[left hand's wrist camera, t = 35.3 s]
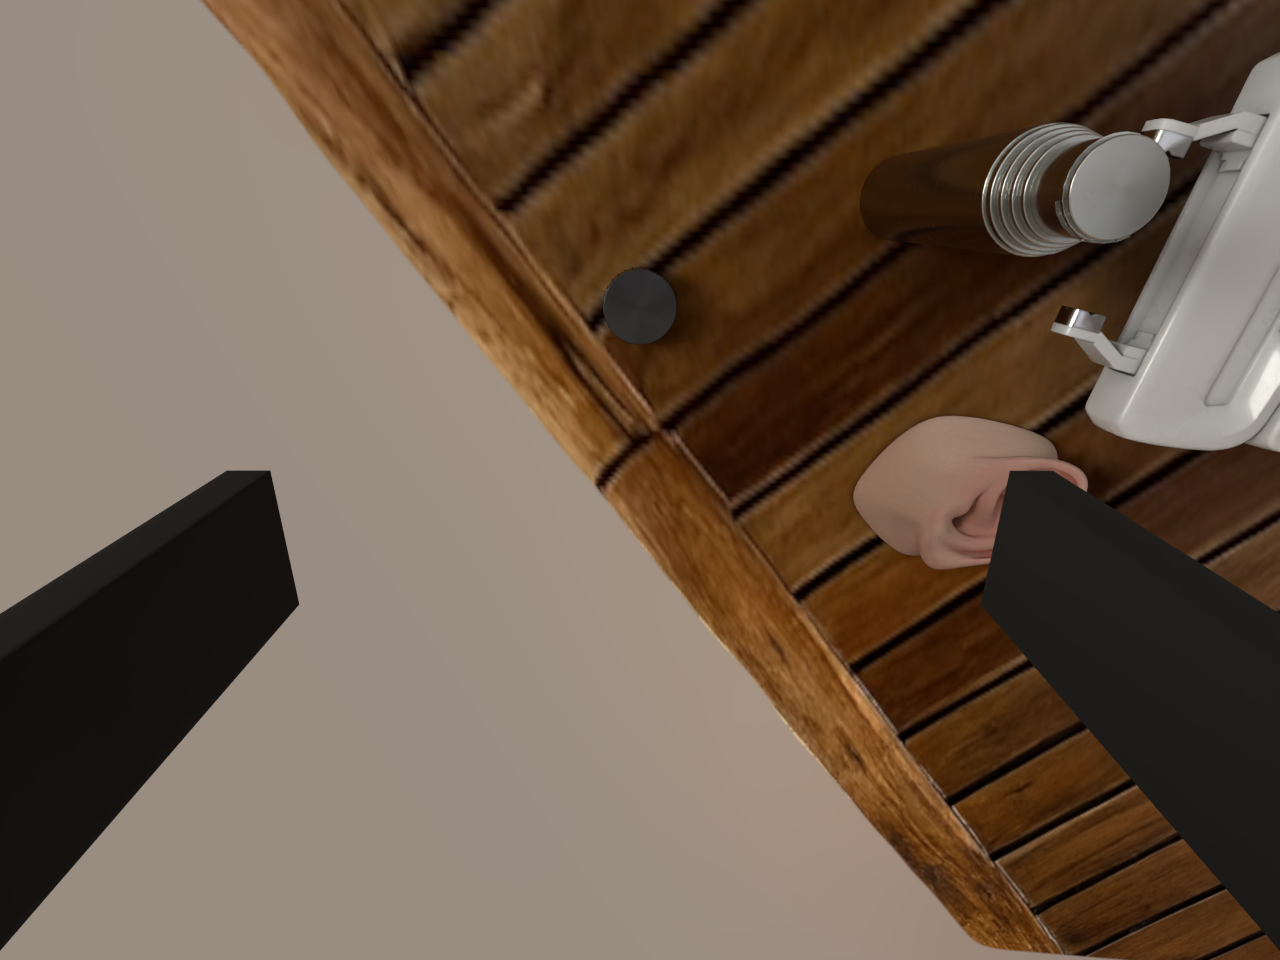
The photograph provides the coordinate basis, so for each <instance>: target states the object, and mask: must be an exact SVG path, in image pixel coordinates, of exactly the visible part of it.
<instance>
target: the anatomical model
mask: <svg viewBox="0 0 1280 960" xmlns="http://www.w3.org/2000/svg"><path fill="white" fill-rule="evenodd" d="M1010 471H1054V472H1056V473H1057V474H1059V475H1061V476H1062V477H1064V478H1065V479H1067V480H1069V481H1070V482H1072V483H1073V484H1075V485H1076V486H1078V487H1080V488H1081V489H1083V490H1084V491H1086V492H1087V488H1088V482H1087V478H1086V475H1085V474H1084V473H1083V471H1081V470H1080V469H1079V468H1078V467H1076V466H1074V465H1072V464H1070V463H1067V462H1064V461H1061V460H1058V456H1057V451H1056V449H1055V447H1054V445H1053V444H1052V443H1051V442H1050V441H1049V440H1048V439H1046V438H1044V437H1043V436H1041V435H1039V434H1036V433H1034V432H1032V431H1029V430H1026V429H1023V428H1019V427H1016V426H1013V425H1009V424H1005V423H1000V422H996V421H991V420H986V419H980V418H973V417H964V416H942V417H936V418H932V419H929V420H926V421H924V422H921V423H919V424H917V425H916V426H914V427H912V428H910V429H909V430H908V431H906V432H905V433H903V434H902V435H901V436H899V437H898V438H897V439H896V440H895V441H893V442H892V443H891V444H890V445H889V446H888V447H887V448H886V449H885V450H884V451H883V452H882V453H881V454H880V455H879V456H878V457H877V458H876V459H875V460H874V462H873V463H872V464H871V465H870V466H869V467H868V468H867V470H866V471H865V472H864V474H863V475H862V476H861V478H860V480H859V481H858V483H857V485H856V487H855V490H854V494H853V499H854V504H855V506H856V508H857V510H858V511H859V513H860V515H861V516H862V517H863V519H864V520H865V521H866V522H867V523H868V525H869V526H870V527H871V528H872V529H873V531H874V532H875V533H876V534H877V535H878V536H879V537H880V538H881V539H883V540H884V541H885V542H886V543H887V544H889V545H890V546H891V547H892V548H894V549H895V550H897V551H899V552H900V553H903V554H907V555H921V557H922V559H923V561H924V562H925V563H926V564H927V565H928V566H930V567H932V568H934V569H940V570H941V569H952V568H959V567H967V566H975V565H983V564H989V563H990V560H991V555H992V550H993V546H994V541H995V537H996V532H997V527H998V523H999V518H1000V514H1001V509H1002V504H1003V500H1004V495H1005V491H1006V486H1007V481H1008V477H1009V472H1010Z"/></svg>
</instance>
